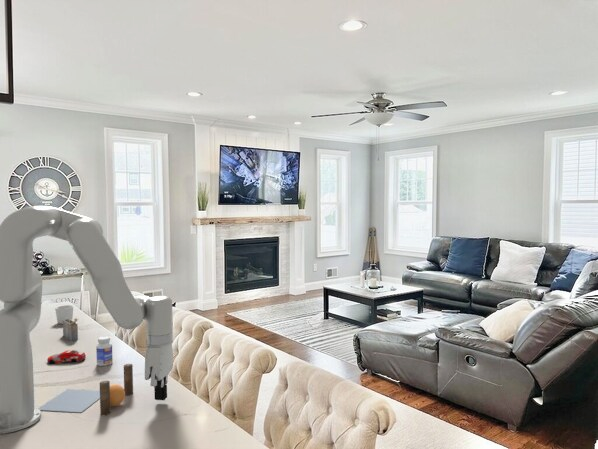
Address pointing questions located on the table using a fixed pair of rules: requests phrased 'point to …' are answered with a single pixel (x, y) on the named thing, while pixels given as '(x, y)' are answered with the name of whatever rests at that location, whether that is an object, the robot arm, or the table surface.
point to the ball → (116, 395)
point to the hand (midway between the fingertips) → (160, 398)
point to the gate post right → (128, 379)
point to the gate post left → (104, 398)
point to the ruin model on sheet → (70, 329)
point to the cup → (64, 313)
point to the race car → (67, 357)
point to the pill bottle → (104, 351)
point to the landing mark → (72, 401)
